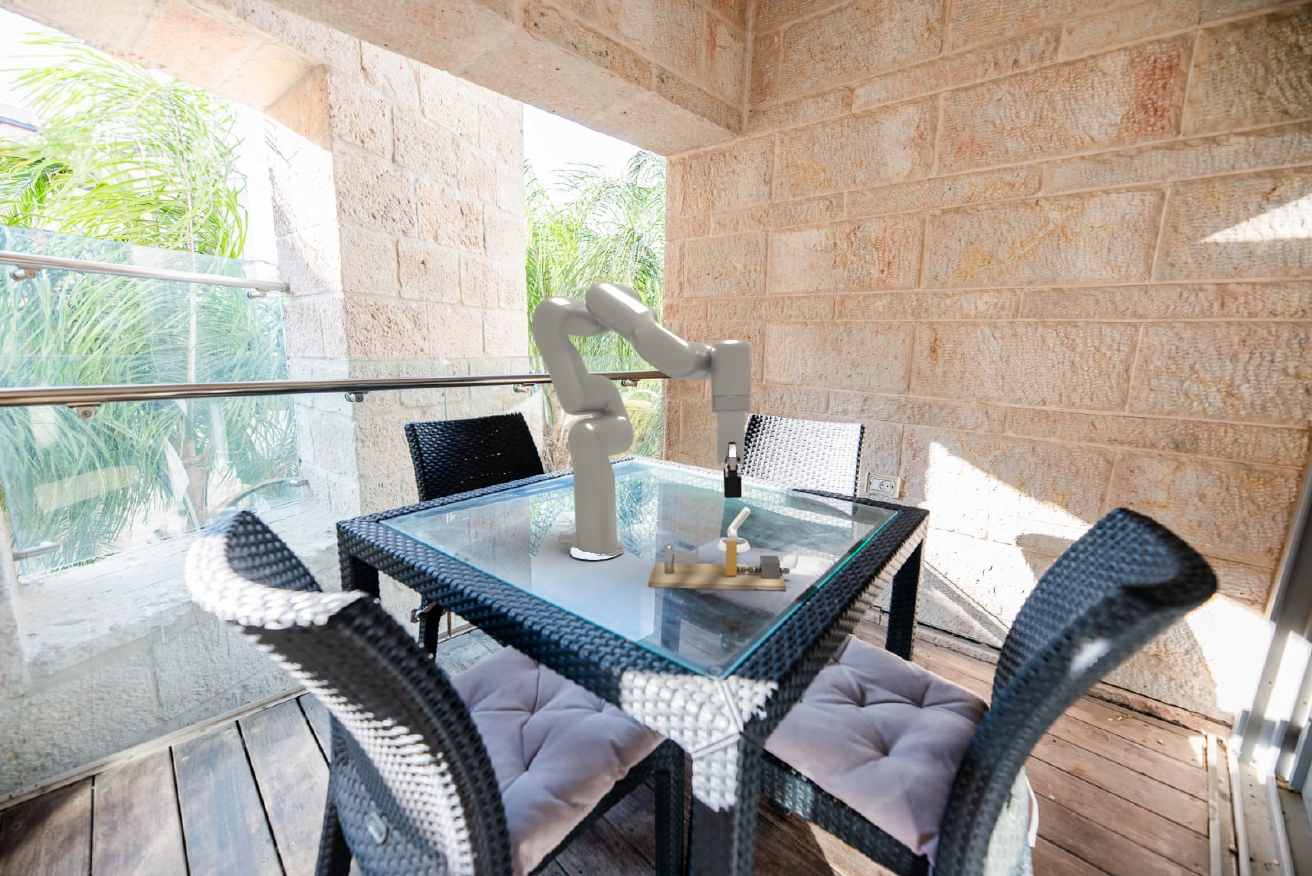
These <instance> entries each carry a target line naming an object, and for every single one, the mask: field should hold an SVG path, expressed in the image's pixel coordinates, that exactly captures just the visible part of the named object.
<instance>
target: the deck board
mask: <svg viewBox="0 0 1312 876" xmlns="http://www.w3.org/2000/svg"><path fill="white" fill-rule="evenodd" d="M737 566H738V567H746V569H747V568H748V567H759V568H760V564H739V563H737ZM648 580H649V581H648V587H649V588H668V589H669V588H671V589H672V588H673V589H675V588H676V589H677V588H678V589H703V590H704V589H706V590H739V591H741V590H742V591H754V590H753V589H758V588H764V589H766V590H778V591H777V592H780V591H779V590H786V591H787V584H786V582H785V578H784V574H780V579H762V578H761V573H748V572H747V571H746V572H745V573H737V576H727V574H726V563H700V562H699V563H698V562H697V563H695V562H694V563H692V562H674V573H672V574H666V573H664V562H658V561H657V562H655V563H654V565H653V568H652V571H651V574H650V577H649V579H648ZM766 590H765V591H766Z"/></svg>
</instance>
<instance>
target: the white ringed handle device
mask: <svg viewBox="0 0 1312 876" xmlns="http://www.w3.org/2000/svg"><path fill="white" fill-rule="evenodd" d="M750 513H751V510H750V508H748V507H747V506H745V507H743V509H742V510H741V511H740V512H739V514H738V515H737V516H736V517H735V519H734V520H733V521H732V522H731V524H730V525H729V526H728V528H727V532H726V533H727V537H723V538H722V539H720V540H719V543H718V544H717V549H718V550H719V551H722V552H726V541H736V544H737V553H738V554H739V553H745V552H749V551H750V549H751V546H750V543H749V542H748V540H747V539H746V538H742V537H739V535H738V529H739V528H740V526H741V525H742V524H743V523H744V521H746V519H747V518H748V516H749V515H750Z"/></svg>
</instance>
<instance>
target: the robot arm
mask: <svg viewBox="0 0 1312 876" xmlns="http://www.w3.org/2000/svg"><path fill="white" fill-rule="evenodd" d="M531 331H532V337H533V340H534V344H535V345H536V346H535V347H537V349H538V352H539V354H540V356H541V358H542V360H543V362H544V364H545V367H546V369H547V372H548V374H549V378H550V380H551V383H552V386H553V388H554V389H553V390H554V392H555V394H556V397H557V400H558V402H559V405H560V406H561V409H562V410H563V411H564V412H565V413H566V414H568V415H571V416H587V415H588V416H589V415H590V416H591V415H592V417H588V418H583V419H580V420H578V421H577V422H575V423H574V424H573V425H572V426H571V428H570V430H569V431H568V435H567V446H568V447H567V448H568V452H569V456H570V460H571V465H572V476H573V477H572V478H573V492H574V493H573V494H574V499H573V500H574V523H575V525H574V526H575V527H574V528H575V532H574V533H572V534H568V533H566V534H565V533H560V534H559V535H558V542H559V541H561V542H560V545H570V547H574V548H578V549H579V550H581V551H583V552H590V553H595V554H600V555H598V556H615V555H618V554H620V553H621V552H623V553H624V551H623V550H625V549H624V548H625V546H624V544H623V543H621V542H619V541H617V539H618V538H617V536H618V533H617V503H616V502H617V501H616V499H617V497H616V477H615V471H614V467H613V466H612V464H611V460H610V458H609V457H612V456H617V455H621V454H623V453H625V452H627V451H629V450H630V448H631V447H632V445H633V443H634V438H635V437H634V428H633V425H632V421H631V420H630V419H631V418H630V416H629V414H628V411H627V408H626V406H625V403H624V400H623V398H622V395H621V394H620V391H619V389H618V387H617V385H616V383H614V381H612V380H611V379H610V378H608V377H607V376H605V375H600V374H591V373H590V372H589V371H588V369H587V368H586V365H585V362H584V360H583V357H582V355H581V353H580V351H579V349H578V348H577V347H576V345H575V344H574V343H573V342H572V341H571V340H570V338H569V336H574V337H585V338H591V337H596V336H600V335H603V334H606V333H609V332H614V333H615V334H618V336H620V337H621V338H623V339H624V340H626V341H627V342H629V344H631V346H632V348H633V350H635V352H636V353H637V355H638V356H639V357H640V358H641V359H642V360H643V361H645V362H646V363H647V364H649V365H650V366H652V368H655V370H657V371H659V372H660V373H663V375H666V377H669V378H671V379H674V380H678V381H703V380H704V381H705V380H709V379H710V383H711V387H710V389H711V390H710V394H711V396H710V397H711V413H712V414H716V460H717V465H718V466H721V465H722V463H723V464H724V467H723V494H724V495H723V496H724V498H725V499H741V498H742V490H743V489H742V475H741V465H743V463H744V455H745V437H746V436H745V433H746V431H745V428H746V425H745V423H746V422H745V420H746V419H745V417H746V416H745V414H746V413H747V414H748V413H751V412H752V407H751V405H752V403H751V402H752V401H751V400H752V399H751V398H752V396H751V395H752V392H751V387H752V386H751V383H752V382H751V347H750V344H749V342H748V341H746V340H743V339H724V340H717V341H714V343H709V342H708V343H707V342H705V343H704V342H698V341H692V340H684V339H682V338H681V337H678V335H676V334H674V333H672V332H671V331H669V330H668V329H666V328H664V327H663V326H662V325H661V324H659V316H658V313H657V311H656V310H655V309H654V308H653V307H651V306H650V305H648V304H646V303H645V302H643V301H642V299H641V297H640V295H639V294H638V292H637V291H636V290H634V289H633V288H631V287H628V286H625V285H621V284H618V283H614V282H610V281H599V282H596V283H594V284H593V283H592V285H591V286H589V287H588V289H587V290H586V292H585V294H584V300H583V299H578V298H574V297H568V296H562V295H561V296H560V295H559V296H558V295H553V296H548V297H545V298H543V299H542V300H541V301H540V302H539V303H538V304H537V305H536V307H535V309H534V312H533V315H532V321H531ZM602 554H605V555H602Z"/></svg>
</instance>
